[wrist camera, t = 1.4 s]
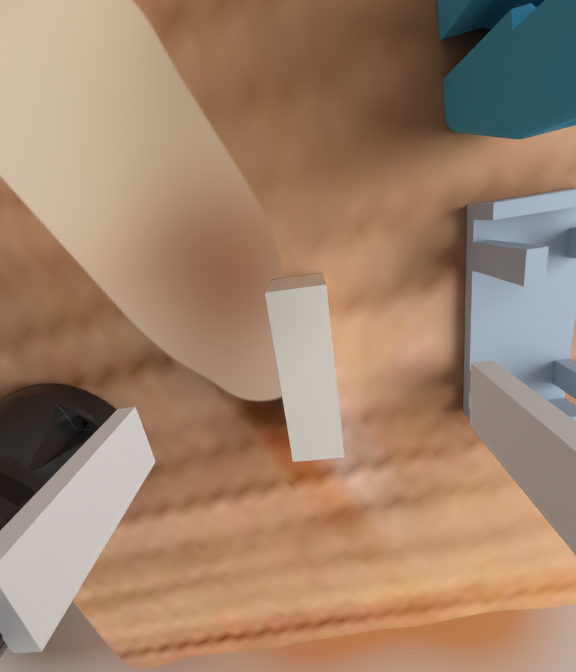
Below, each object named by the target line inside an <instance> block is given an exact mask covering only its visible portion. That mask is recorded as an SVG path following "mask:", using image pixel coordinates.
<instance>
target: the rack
mask: <svg viewBox="0 0 576 672" xmlns="http://www.w3.org/2000/svg"><path fill="white" fill-rule="evenodd" d="M575 316H576V188H570V189H564V190H558V191H552V192H546V193H539V194H533V195H527V196H521V197H515V198H508V199H502V200H496V201H490V202H484V203H477V204H471V205H467V243H466V293H465V343H464V393H463V412H464V413H465V414H466V416H467V417H468V418H469V419H470V388H471V363H474V362H482V361H490V360H493V361H494V362H496V363H497V364H498V365H500V366H501V367H503V368H504V369H505V370H507V371H508V372H509V373H511V374H512V375H513V376H515V377H516V378H518V379H519V380H520V381H522V382H523V383H524V384H526V385H527V386H528V387H530V388H531V389H533V390H534V391H535V392H537V393H538V394H539V395H541V396H542V397H543V398H545V399H546V400H548V401H549V402H550V403H552V404H553V405H554V406H556V407H557V408H558V409H560V410H561V411H563V412H564V413H565V414H567V415H568V416H569V417H571V418H572V419H573V420H575V421H576V405H574V404H573V403H571V402H570V401H568V400H567V399H565V392H566V393H568V394H569V395H571V396H572V397H574V398H575V399H576V362H575V361H573V360H571V359H570V354H571V346H572V339H573V331H574V324H575Z"/></svg>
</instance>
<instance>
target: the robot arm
mask: <svg viewBox="0 0 576 672" xmlns="http://www.w3.org/2000/svg"><path fill="white" fill-rule="evenodd" d="M470 427H471V428H472V429H473V430H474V432H475V433H476V434H477V435H478V436H479V438H480V439H481V440H482V441H483V443H484V444H485V445H486V446H487V447H488V449H489V450H490V451H491V452H492V454H493V455H494V456H495V457H496V458H497V460H498V461H499V462H500V463H501V465H502V466H503V467H504V468H505V469H506V471H507V472H508V473H509V474H510V476H511V477H512V478H513V479H514V480H515V482H516V483H517V484H518V485H519V487H520V488H521V489H522V490H523V491H524V493H525V494H526V495H527V496H528V497H529V499H530V500H531V501H532V502H533V504H534V505H535V506H536V507H537V508H538V510H539V511H540V512H541V513H542V515H543V516H544V517H545V518H546V519H547V521H548V522H549V523H550V524H551V526H552V527H553V528H554V529H555V530H556V532H557V533H558V534H559V535H560V537H561V538H562V539H563V540H564V541H565V543H566V544H567V545H568V546H569V548H570V549H571V550H572V551H573V552H574V554H575V555H576V421H575V420H573V419H572V418H571V417H569V416H568V415H567V414H565V413H564V412H563V411H561V410H560V409H558V408H557V407H556V406H554V405H553V404H552V403H550V402H549V401H548V400H546V399H545V398H543V397H542V396H541V395H539V394H538V393H537V392H535V391H534V390H533V389H531V388H530V387H528V386H527V385H526V384H524V383H523V382H522V381H520V380H519V379H518V378H516V377H515V376H513V375H512V374H511V373H509V372H508V371H507V370H505V369H504V368H503V367H501V366H500V365H498V364H497V363H496V362H494V361H493V360H490V361H482V362H474V363H471V388H470ZM154 463H155V459H154V456H153V454H152V451H151V448H150V445H149V443H148V440H147V437H146V434H145V431H144V429H143V426H142V423H141V420H140V418H139V415H138V412H137V409H136V407H130V408H122V409H117V410H116V409H115V408H113V407H112V406H111V405H110V404H108V403H107V402H105V401H104V400H102V399H100V398H99V397H97V396H95V395H93V394H91V393H88V392H86V391H83V390H81V389H78V388H74V387H70V386H65V385H58V384H39V385H33V386H29V387H26V388H23V389H21V390H18V391H16V392H15V393H13V394H11V395H10V396H8V397H6V398H5V399H3V400H1V401H0V657H1V655H2V654H3V652H4V651H5V649H6V648H7V647H9V648H10V650H11V651H12V653H24V652H42V650H43V648H44V647H45V645H46V644H47V642H48V640H49V639H50V637H51V635H52V634H53V632H54V630H55V629H56V627H57V625H58V624H59V621H60V620H61V619H62V617H63V615H64V614H65V612H66V610H67V609H68V607H69V605H70V604H71V602H72V600H73V599H74V597H75V595H76V594H77V592H78V590H79V589H80V587H81V585H82V584H83V582H84V580H85V579H86V577H87V575H88V574H89V572H90V570H91V569H92V567H93V565H94V564H95V562H96V560H97V559H98V557H99V555H100V554H101V552H102V550H103V549H104V547H105V545H106V544H107V542H108V540H109V539H110V537H111V535H112V534H113V532H114V530H115V529H116V527H117V525H118V524H119V522H120V520H121V519H122V517H123V515H124V514H125V512H126V510H127V509H128V507H129V505H130V503H131V502H132V500H133V498H134V497H135V495H136V493H137V492H138V490H139V488H140V487H141V485H142V483H143V482H144V480H145V478H146V477H147V475H148V473H149V472H150V470H151V468H152V467H153V465H154Z"/></svg>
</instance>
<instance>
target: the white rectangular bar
mask: <svg viewBox="0 0 576 672" xmlns="http://www.w3.org/2000/svg"><path fill="white" fill-rule="evenodd" d="M265 298H266V304H267V310H268V316H269V322H270V328H271V334H272V339H273V346H274V352H275V357H276V363H277V370H278V376H279V381H280V387H281V393H282V399H283V405H284V411H285V417H286V423H287V429H288V435H289V441H290V447H291V453H292V458H293V462H296V461H308V460H321V459H333V458H344V448H343V439H342V429H341V420H340V410H339V401H338V392H337V382H336V373H335V363H334V354H333V345H332V335H331V326H330V316H329V307H328V297H327V288H326V282H325V279H324V276H323V273H319V274H312V275H305V276H297V277H290V278H279V279H272V281H271V282H270V284H269V286H268V288H267V289H266V291H265Z"/></svg>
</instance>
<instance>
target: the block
mask: <svg viewBox="0 0 576 672" xmlns="http://www.w3.org/2000/svg"><path fill="white" fill-rule="evenodd" d="M437 10H438V24H439V37H440V40H443V39H447V38H450V37H453V36H456V35H460V34H463V33H466V32H469V31H473V30H476V29H479V28H487V29H489V30H491V31H490V32H489V33H488V34H487V35H486V36H485V37H484V38H483V39H482V40H481V41H480V42H479V43H478V44H477V45H476V46H475V47H474V48H473V49H472V50H471V51H470V52H469V53H468V54H467V55H466V56H465V57H464V58H463V59H462V60H461V61H460V62H459V63H458V64H457V65H456V66H455V68H454V69H453V70H452V71H451V72H450V73H449V74H448V75H447V76H446V77H445V78H444V79H443V91H444V105H445V118H446V124H447V126H448V127H449V128H450V130H452V131H454V132H457V133H466V134H475V135H483V136H492V137H501V138H510V139H524V138H528V137H532V136H535V135H539V134H543V133H547V132H551V131H555V130H558V129H562V128H566V127H570V126H574V125H576V0H437Z"/></svg>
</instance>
